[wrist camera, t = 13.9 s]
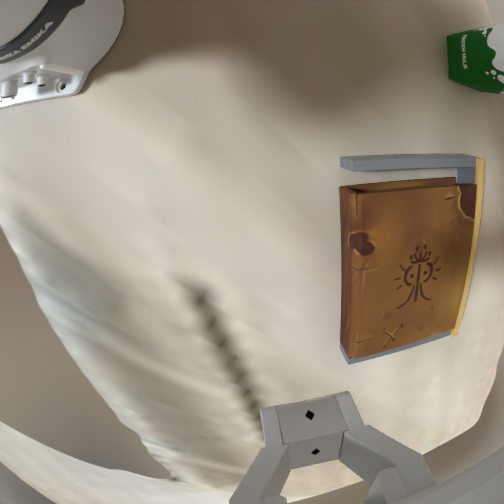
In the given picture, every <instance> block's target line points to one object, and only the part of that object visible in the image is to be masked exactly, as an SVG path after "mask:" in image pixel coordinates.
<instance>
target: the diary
mask: <svg viewBox="0 0 504 504" xmlns="http://www.w3.org/2000/svg"><path fill="white" fill-rule="evenodd" d="M476 188H477V185H476V184H473V183H468V184H456V178H455V177H444V178H429V179H415V180H402V181H390V182H378V183H368V184H358V185H348V186H340V187H339V194H340V216H341V256H342V292H341V332H340V341H341V343H342V345H343V347H344V349H345V351H346V353H347V355H348V356H349V357H352V358H354V359H358V358H361V357H365V356H369V355H373V354H377V353H380V352H384V351H387V350H391V349H394V348H398V347H401V346H405V345H408V344H411V343H414V342H417V341H421V340H424V339H427V338H430V337H433V336H436V335H439V334H442V333H445V332H447V331H450V330H453V329H455V325H456V321H457V317H458V313H459V309H460V304H461V300H462V295H463V290H464V285H465V280H466V275H467V269H468V263H469V257H470V250H471V243H472V235H473V226H474V216H475V204H476Z"/></svg>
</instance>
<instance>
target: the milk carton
mask: <svg viewBox="0 0 504 504" xmlns="http://www.w3.org/2000/svg"><path fill="white" fill-rule="evenodd" d="M447 46H448V66H449V79H450V80H453V81H456V82H458V83H461V84H464V85H466V86H469V87H471V88H474V89H476V90H479V91H481V92H489V93H498V94H504V24H499V25H493V26H488V27H483V28H479V29H474V30H469V31H465V32H461V33H456V34H452V35H448V36H447Z"/></svg>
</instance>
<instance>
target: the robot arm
mask: <svg viewBox="0 0 504 504" xmlns="http://www.w3.org/2000/svg"><path fill="white" fill-rule="evenodd" d="M123 18H124V4H123V0H0V109H2V108H6V107H11V106H15V105H20V104H25V103H30V102H36V101H41V100H47V99H54V98H60V97H67V96H73V95H76V94H77V93H79V91H80V90H81V89H82V87H83V85H84V83H85V81H86V79H87V76H88V74H89V72H90V71H91V69H92V68H93V67H94V66H95V65H96V64H97V63H98V62H99V61H100V60H101V59H102V58H103V57H104V55H105V54H106V53H107V52H108V51H109V49H110V48H111V46H112V45H113V43H114V42H115V40H116V38H117V36H118V34H119V32H120V29H121V26H122V23H123ZM64 84H66V87H65V89H62V86H63V85H64ZM260 414H261V421H262V427H263V433H264V440H265V446H266V447H265V448H261V449H260V451H259V453H258V455H257V456H256V458H255V460H254V461H253V463H252V465H251V466H250V468H249V470H248V471H247V473H246V475H245V476H244V478H243V479H242V481H241V483H240V484H239V486H238V487H237V489H236V491H235V492H234V494H233V495H232V497H231V498H230V500H229V504H287V501H286V498H285V497H283V496H281V495H280V493H281V491H282V488H283V486H284V484H285V482H286V480H287V478H288V475H289V473H290V470H291V469H295V468H300V467H305V466H309V465H313V464H318V463H323V462H328V461H332V460H337V459H339V460H340V461H341V462H342V463H343V464H345V465H346V466H347V467H348V468H349V469H351V470H352V471H353V472H355V473H356V474H357V475H358V476H360V477H361V478H362V479H363V480H365V481H366V482H367V483H369V484H370V485H371V486H372V487H371V489H370V491H369V493H368V495H367V497H366V499H365V501H364V504H504V445H503V446H502V447H501V448H499V449H497V450H496V451H494V452H493V453H491V454H489V455H488V456H486V457H484V458H483V459H481V460H480V461H478V462H476V463H474V464H473V465H471V466H469V467H467V468H466V469H464V470H462V471H460V472H458V473H456V474H455V475H453V476H451V477H449V478H447V479H445V480H443V481H441V482H439V483H436V482H435V480H434V478H433V476H432V474H431V472H430V470H429V468H428V466H427V464H426V462H425V460H424V458H423V457H422V455H421V454H420V453H418V452H416V451H414V450H412V449H410V448H409V447H407V446H405V445H403V444H401V443H400V442H398V441H396V440H394V439H392V438H391V437H389V436H387V435H385V434H384V433H382V432H380V431H379V430H377V429H375V428H373V427H372V426H370V425H366V426H365V425H364V423H363V421H362V419H361V416H360V414H359V412H358V410H357V407H356V405H355V403H354V401H353V399H352V396H351V394H350V392H348V391H344V392H340V393H336V394H331V395H326V396H322V397H318V398H313V399H309V400H304V401H301V402H295V403H289V404H282V405H276V406H269V407H262V408H260ZM0 504H12V503H10V502H7V501H4V500H0Z"/></svg>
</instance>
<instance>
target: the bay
mask: <svg viewBox="0 0 504 504" xmlns="http://www.w3.org/2000/svg"><path fill="white" fill-rule="evenodd" d="M340 165H341V167H342V168H345V169H348V170H350V171H353V172H357V171H372V170H389V169H410V168H441V167H458V181H457V184H468V183H473V184H476V185H477V188H476V204H475V216H474V226H473V235H472V243H471V250H470V257H469V263H468V269H467V275H466V280H465V285H464V290H463V295H462V300H461V304H460V309H459V313H458V317H457V321H456V325H455V329H453V330H450V331H447V332H445V333H442V334H439V335H436V336H433V337H430V338H427V339H424V340H421V341H417V342H414V343H411V344H408V345H405V346H401V347H398V348H394V349H391V350H387V351H384V352H380V353H377V354H373V355H369V356H365V357H361V358H358V359H354V358H352V357H349V356H348V355H347V353H346V351H345V349H344V347H343V345H342V343H341V342H340V349H341V351H342V353H343V355H344V357H345V359H346V361H347V363H348V365H349V364H353V363H357V362H361V361H365V360H369V359H373V358H377V357H380V356H384V355H388V354H391V353H395V352H398V351H402V350H405V349H408V348H412V347H415V346H418V345H421V344H424V343H428V342H431V341H434V340H437V339H440V338H443V337H445V336H448V335H451V336H452V337H453V336H456V335H457V334H458V331H459V327H460V324H461V320H462V316H463V312H464V308H465V304H466V300H467V296H468V292H469V287H470V282H471V277H472V272H473V267H474V261H475V256H476V249H477V243H478V236H479V228H480V219H481V210H482V198H483V182H484V159H481V158H477V157H473V156H469V155H465V154H391V155H366V156H347V157H340Z"/></svg>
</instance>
